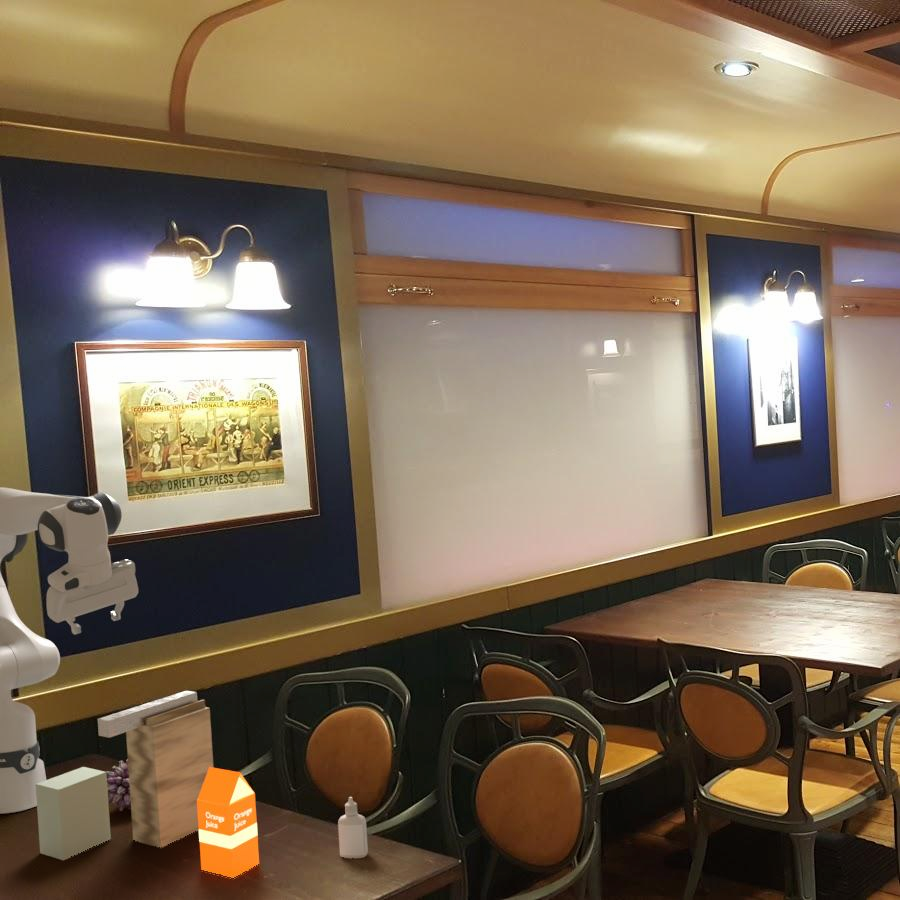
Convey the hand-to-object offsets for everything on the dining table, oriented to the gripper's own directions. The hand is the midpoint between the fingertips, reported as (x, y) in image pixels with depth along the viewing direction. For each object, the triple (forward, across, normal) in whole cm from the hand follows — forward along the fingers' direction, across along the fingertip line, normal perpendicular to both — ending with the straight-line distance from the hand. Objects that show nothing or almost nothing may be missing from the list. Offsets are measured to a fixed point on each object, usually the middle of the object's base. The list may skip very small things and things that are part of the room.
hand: (96, 626), depth 236 cm
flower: (+46, -1, +6) cm, 47 cm away
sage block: (+41, +17, +16) cm, 47 cm away
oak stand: (+41, -2, +26) cm, 49 cm away
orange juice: (+34, 0, +52) cm, 62 cm away
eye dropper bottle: (+33, -20, +67) cm, 77 cm away
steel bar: (+15, -1, +21) cm, 26 cm away
